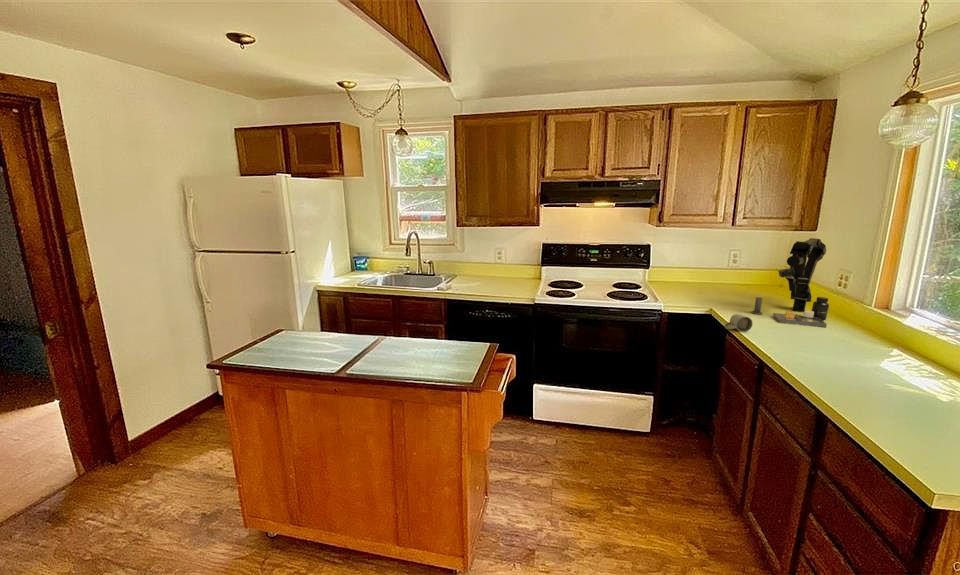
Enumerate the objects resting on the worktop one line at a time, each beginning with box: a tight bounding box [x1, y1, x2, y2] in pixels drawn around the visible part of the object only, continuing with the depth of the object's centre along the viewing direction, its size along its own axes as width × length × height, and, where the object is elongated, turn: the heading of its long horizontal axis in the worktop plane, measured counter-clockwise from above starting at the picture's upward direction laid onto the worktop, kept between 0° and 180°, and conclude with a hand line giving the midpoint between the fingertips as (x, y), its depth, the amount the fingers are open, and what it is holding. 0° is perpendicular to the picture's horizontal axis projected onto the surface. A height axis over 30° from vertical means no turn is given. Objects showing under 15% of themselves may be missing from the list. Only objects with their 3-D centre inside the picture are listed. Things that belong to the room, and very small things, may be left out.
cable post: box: [750, 296, 764, 316], centre depth 236 cm, size 5×5×9 cm
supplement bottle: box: [811, 296, 830, 322], centre depth 227 cm, size 7×7×12 cm
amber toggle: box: [784, 310, 796, 318], centre depth 222 cm, size 2×4×3 cm, turn 71°
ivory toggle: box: [803, 310, 814, 318], centre depth 223 cm, size 2×4×3 cm, turn 71°
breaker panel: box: [772, 312, 827, 328], centre depth 223 cm, size 12×20×3 cm, turn 71°
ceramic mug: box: [724, 313, 753, 333], centre depth 209 cm, size 11×8×8 cm
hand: (793, 292), depth 233 cm, fingers open, 9 cm apart
